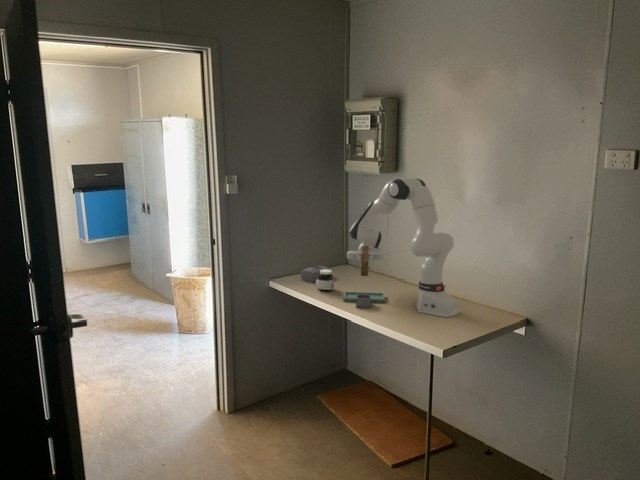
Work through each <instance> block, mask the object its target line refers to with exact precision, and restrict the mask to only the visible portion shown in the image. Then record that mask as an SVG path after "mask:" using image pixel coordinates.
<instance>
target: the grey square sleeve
mask: <svg viewBox="0 0 640 480" xmlns="http://www.w3.org/2000/svg"><path fill="white" fill-rule="evenodd" d="M371 307H372V303H371V295H365V294H357V296H356V302H355V308H356V309H372V308H371Z"/></svg>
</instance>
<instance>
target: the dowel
mask: <svg viewBox="0 0 640 480" xmlns="http://www.w3.org/2000/svg"><path fill="white" fill-rule="evenodd" d="M369 262H370V261H369V246H361V260H360V276H361V277H368V276H369V264H370V263H369Z"/></svg>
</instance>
